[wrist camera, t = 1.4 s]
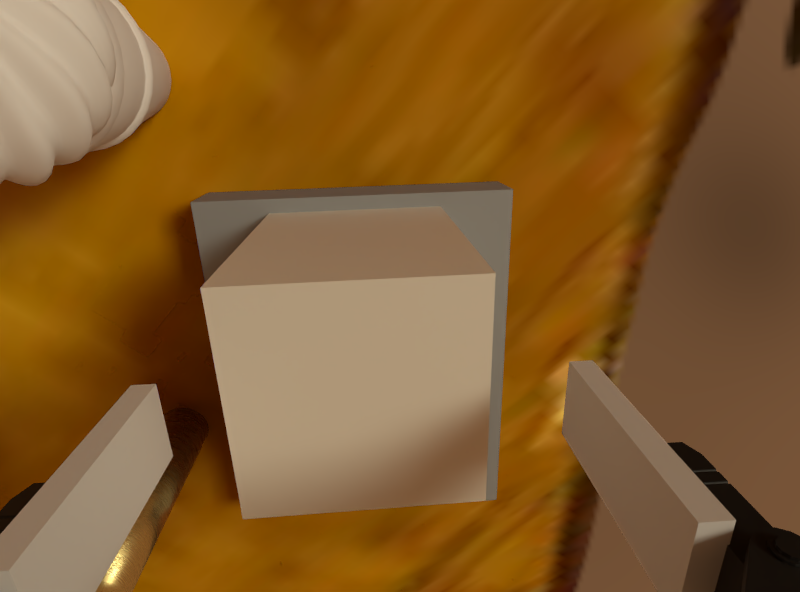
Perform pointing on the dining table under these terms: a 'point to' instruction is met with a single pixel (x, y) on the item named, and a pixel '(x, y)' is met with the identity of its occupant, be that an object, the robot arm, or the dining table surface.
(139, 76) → the soft serve ice cream cone
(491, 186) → the socket board
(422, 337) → the block
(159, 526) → the brass pin
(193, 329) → the dining table surface
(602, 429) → the robot arm
